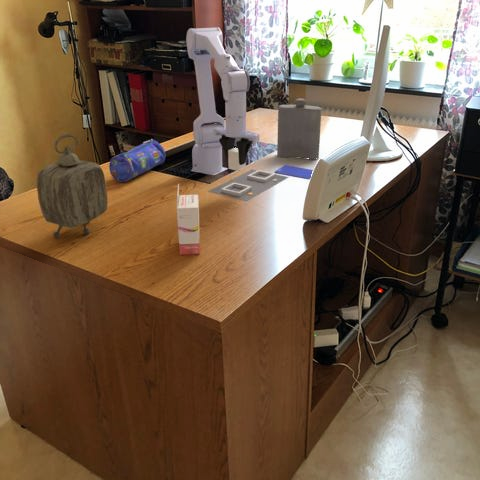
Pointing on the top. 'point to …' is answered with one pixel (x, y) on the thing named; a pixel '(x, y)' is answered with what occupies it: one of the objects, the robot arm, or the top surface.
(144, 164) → the pencil case
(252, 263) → the top surface
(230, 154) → the plug
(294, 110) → the flask
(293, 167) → the hard drive
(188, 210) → the ink cartridge box
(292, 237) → the top surface
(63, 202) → the tabletop clock
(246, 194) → the port panel
